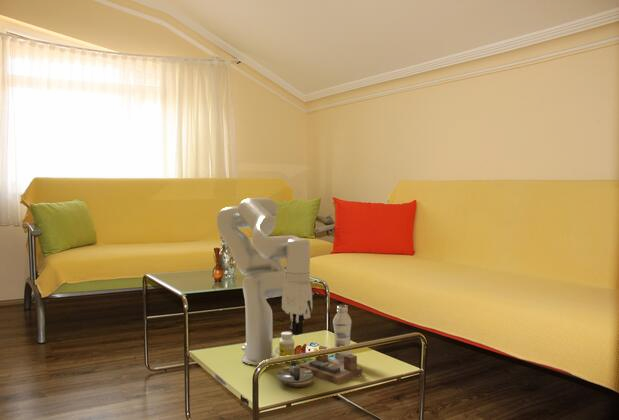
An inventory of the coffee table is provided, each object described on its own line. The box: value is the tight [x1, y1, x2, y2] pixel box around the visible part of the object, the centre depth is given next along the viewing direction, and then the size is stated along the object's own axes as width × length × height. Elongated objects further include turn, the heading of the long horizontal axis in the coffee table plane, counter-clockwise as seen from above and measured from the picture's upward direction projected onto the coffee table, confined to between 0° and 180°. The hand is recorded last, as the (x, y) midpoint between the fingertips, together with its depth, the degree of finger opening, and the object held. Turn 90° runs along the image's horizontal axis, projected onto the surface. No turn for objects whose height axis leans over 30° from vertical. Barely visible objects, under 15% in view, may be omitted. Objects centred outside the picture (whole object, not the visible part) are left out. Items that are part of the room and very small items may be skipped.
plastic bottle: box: [332, 304, 353, 363], centre depth 188 cm, size 6×7×20 cm
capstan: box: [276, 360, 315, 388], centre depth 168 cm, size 12×12×6 cm
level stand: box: [298, 345, 363, 385], centre depth 178 cm, size 18×12×6 cm, turn 45°
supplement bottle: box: [278, 331, 295, 357], centre depth 191 cm, size 5×5×10 cm
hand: (297, 333), depth 171 cm, fingers closed
